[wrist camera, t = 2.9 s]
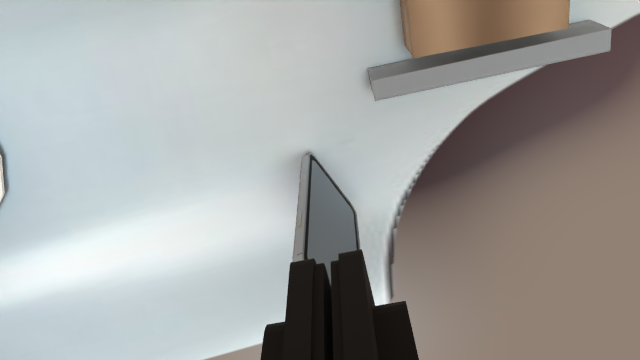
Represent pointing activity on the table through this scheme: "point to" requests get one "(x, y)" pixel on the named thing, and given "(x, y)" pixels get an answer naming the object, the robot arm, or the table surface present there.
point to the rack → (489, 60)
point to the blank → (476, 22)
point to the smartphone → (323, 217)
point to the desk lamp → (1, 180)
